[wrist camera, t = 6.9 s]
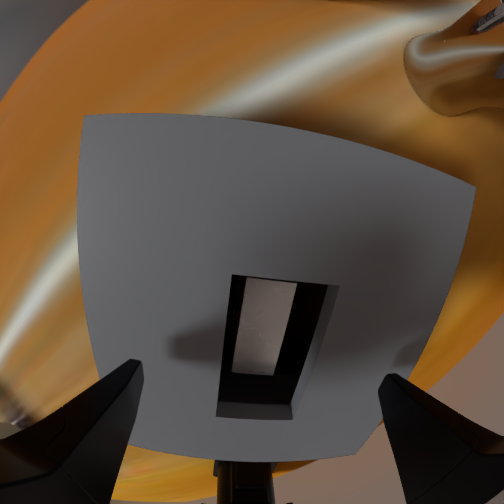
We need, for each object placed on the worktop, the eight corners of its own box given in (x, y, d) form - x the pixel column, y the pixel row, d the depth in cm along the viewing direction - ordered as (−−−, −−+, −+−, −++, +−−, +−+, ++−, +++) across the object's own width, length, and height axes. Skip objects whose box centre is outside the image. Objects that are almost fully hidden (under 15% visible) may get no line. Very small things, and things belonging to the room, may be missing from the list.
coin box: (330, 383, 19) (355, 454, 13) (147, 368, 18) (121, 442, 11) (393, 172, 14) (476, 187, 8) (150, 132, 13) (84, 115, 7)
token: (264, 321, 17) (272, 375, 12) (233, 317, 17) (231, 372, 12) (279, 246, 16) (297, 283, 11) (244, 241, 15) (246, 277, 11)
